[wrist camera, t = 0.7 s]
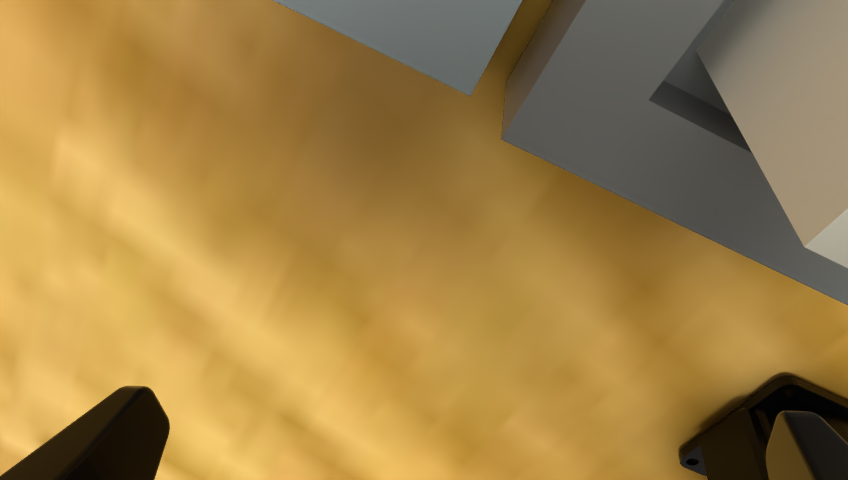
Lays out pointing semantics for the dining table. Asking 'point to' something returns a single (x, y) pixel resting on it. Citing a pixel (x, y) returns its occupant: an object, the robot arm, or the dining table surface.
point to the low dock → (421, 32)
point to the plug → (791, 106)
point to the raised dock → (653, 126)
